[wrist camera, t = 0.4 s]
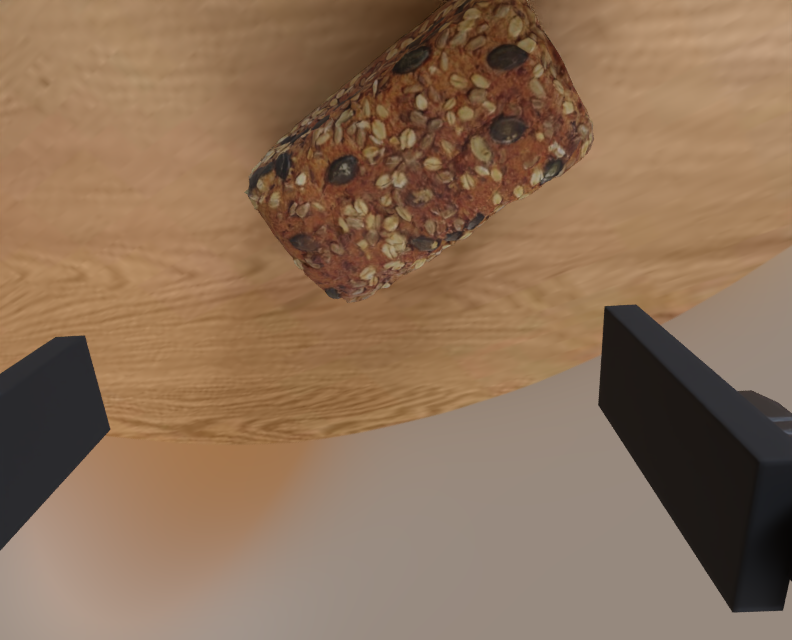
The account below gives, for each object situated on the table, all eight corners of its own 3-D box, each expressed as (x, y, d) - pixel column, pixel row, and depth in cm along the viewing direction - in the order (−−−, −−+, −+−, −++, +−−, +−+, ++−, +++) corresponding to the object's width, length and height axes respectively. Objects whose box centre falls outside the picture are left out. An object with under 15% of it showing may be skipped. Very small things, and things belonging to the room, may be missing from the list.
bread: (353, 247, 45) (345, 330, 37) (255, 140, 39) (221, 210, 32) (574, 103, 38) (621, 167, 30) (492, -52, 32) (523, -23, 25)
